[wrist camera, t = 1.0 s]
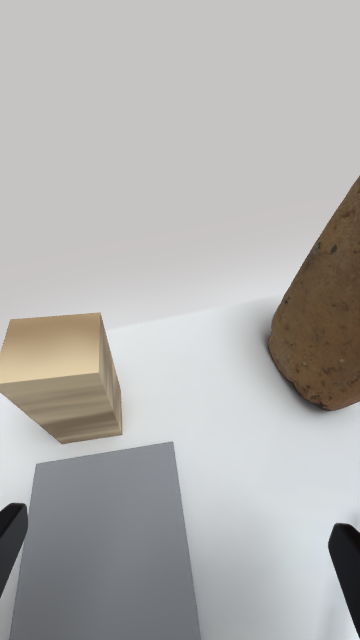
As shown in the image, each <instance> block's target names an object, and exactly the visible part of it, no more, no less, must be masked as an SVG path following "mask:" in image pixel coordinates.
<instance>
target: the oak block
mask: <svg viewBox="0 0 360 640" xmlns="http://www.w3.org/2000/svg"><path fill="white" fill-rule="evenodd" d="M0 392H1V393H2V394H3V395H4V396H5V397H6V398H8V399H9V400H10V401H11V402H12V403H14V404H15V405H16V406H17V407H18V408H20V409H21V410H22V411H23V412H24V413H26V414H27V415H28V416H29V417H30V418H32V419H33V420H34V421H35V422H36V423H38V424H39V425H40V426H41V427H42V428H43V429H45V430H46V431H47V432H48V433H49V434H51V435H52V436H53V437H54V438H55V439H57V440H58V441H59V442H60V443H61V444H65V443H72V442H78V441H85V440H91V439H98V438H104V437H111V436H117V435H122V411H121V390H120V386H119V382H118V378H117V375H116V371H115V367H114V363H113V359H112V355H111V352H110V348H109V344H108V340H107V336H106V333H105V329H104V325H103V321H102V317H101V314H100V313H90V314H78V315H77V314H76V315H65V316H64V315H63V316H51V317H39V318H26V319H12V320H10V322H9V326H8V329H7V333H6V336H5V340H4V343H3V346H2V350H1V353H0Z"/></svg>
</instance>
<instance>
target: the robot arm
mask: <svg viewBox="0 0 360 640" xmlns="http://www.w3.org/2000/svg"><path fill="white" fill-rule="evenodd" d="M27 530H28V515H27V506H26V505H25V504H24V503H11V504H9V505H7V506H6V507H5V508H4V509H2V510H1V511H0V597H1V595H2V593H3V590H4V588H5V585H6V583H7V580H8V578H9V575H10V573H11V570H12V568H13V565H14V563H15V561H16V558H17V556H18V553H19V551H20V548H21V546H22V543H23V541H24V538H25V536H26V533H27ZM328 549H329V553H330V556H331V559H332V562H333V565H334V568H335V571H336V574H337V577H338V579H339V582H340V585H341V588H342V591H343V594H344V597H345V600H346V603H347V606H348V609H349V612H350V615H351V617H352V620H353V623H354V626H355V628H356V631H357V633H358V636H359V638H360V533H359V532H358V531H357V530H356V529H355V528H354V527H353V526H351V525H350V524H344V523H336V524H335V525H334V527H333V530H332V533H331V536H330V539H329V542H328Z"/></svg>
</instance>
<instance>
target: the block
mask: <svg viewBox="0 0 360 640" xmlns="http://www.w3.org/2000/svg"><path fill="white" fill-rule="evenodd" d="M271 328H272V332H271V336H270V338H269V339H268V345H269V350H270V353H271V355H272V358H273V360H274V361H275V363H276V365H277V367H278V369H279V370H280V372H281V373H282V374H283V375H284V376H285V377H286V378H287V379H288V380H289V381H291V382H293V383H294V386H295V389H296V390H297V391H298V392H299V393H300V394H301V395H302V396H303V397H304V398H305V399H307V400H308V401H310V402H312V403H315V404H318V405H319V406H320V407H321V408H322V409H324V410H328V411H332V410H338V409H342V408H345V407H347V406H350V405H352V404H354V403H357V402H359V401H360V176H359V178H358V179H357V180H356V182H355V183H354V184H353V186H352V187H351V189H350V190H349V192H348V194H347V195H346V197H345V198H344V200H343V201H342V203H341V204H340V206H339V207H338V209H337V210H336V212H335V213H334V215H333V216H332V218H331V219H330V221H329V222H328V224H327V225H326V227H325V229H324V230H323V232H322V234H321V235H320V237H319V238H318V240H317V241H316V243H315V245H314V246H313V248H312V249H311V251H310V253H309V254H308V256H307V258H306V259H305V261H304V263H303V264H302V266H301V268H300V270H299V271H298V273H297V275H296V276H295V278H294V280H293V282H292V283H291V286H290V287H289V289H288V290H287V292H286V293H285V295H284V297H283V299H282V301H281V304H280V305H279V307H278V308H277V311H276V312H275V314H274V316H273V319H272V325H271Z"/></svg>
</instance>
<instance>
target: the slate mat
mask: <svg viewBox="0 0 360 640" xmlns="http://www.w3.org/2000/svg"><path fill="white" fill-rule="evenodd" d="M9 640H201V636H200V629H199V622H198V615H197V608H196V601H195V594H194V587H193V580H192V573H191V565H190V558H189V551H188V544H187V537H186V530H185V523H184V516H183V509H182V501H181V494H180V487H179V480H178V473H177V466H176V459H175V452H174V445H173V442H168V443H161V444H155V445H149V446H143V447H137V448H131V449H125V450H119V451H113V452H106V453H100V454H94V455H88V456H82V457H76V458H70V459H64V460H57V461H51V462H45V463H39V464H36V468H35V474H34V481H33V487H32V494H31V501H30V507H29V514H28V530H27V533H26V536H25V540H24V547H23V553H22V560H21V566H20V573H19V580H18V586H17V593H16V599H15V606H14V612H13V619H12V626H11V632H10V639H9Z"/></svg>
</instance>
